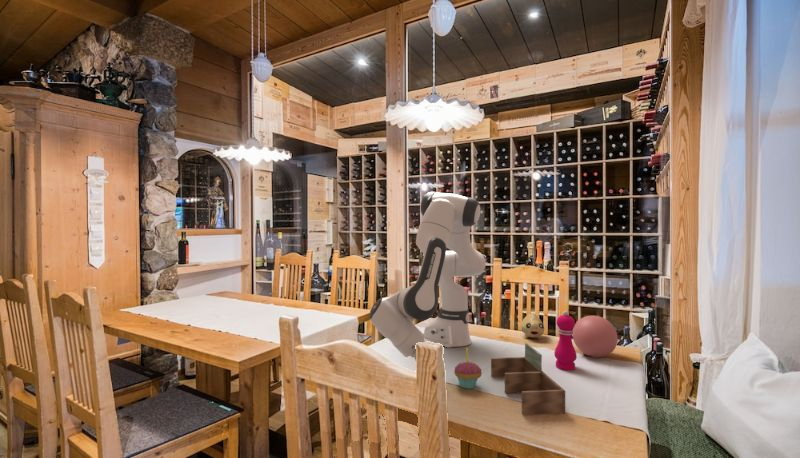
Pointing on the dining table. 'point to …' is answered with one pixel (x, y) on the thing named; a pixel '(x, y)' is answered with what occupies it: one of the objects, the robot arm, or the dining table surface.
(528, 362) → the walnut rack
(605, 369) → the dining table surface
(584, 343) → the balloon
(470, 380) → the cupcake
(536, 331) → the beige toy head
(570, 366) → the pepper mill
